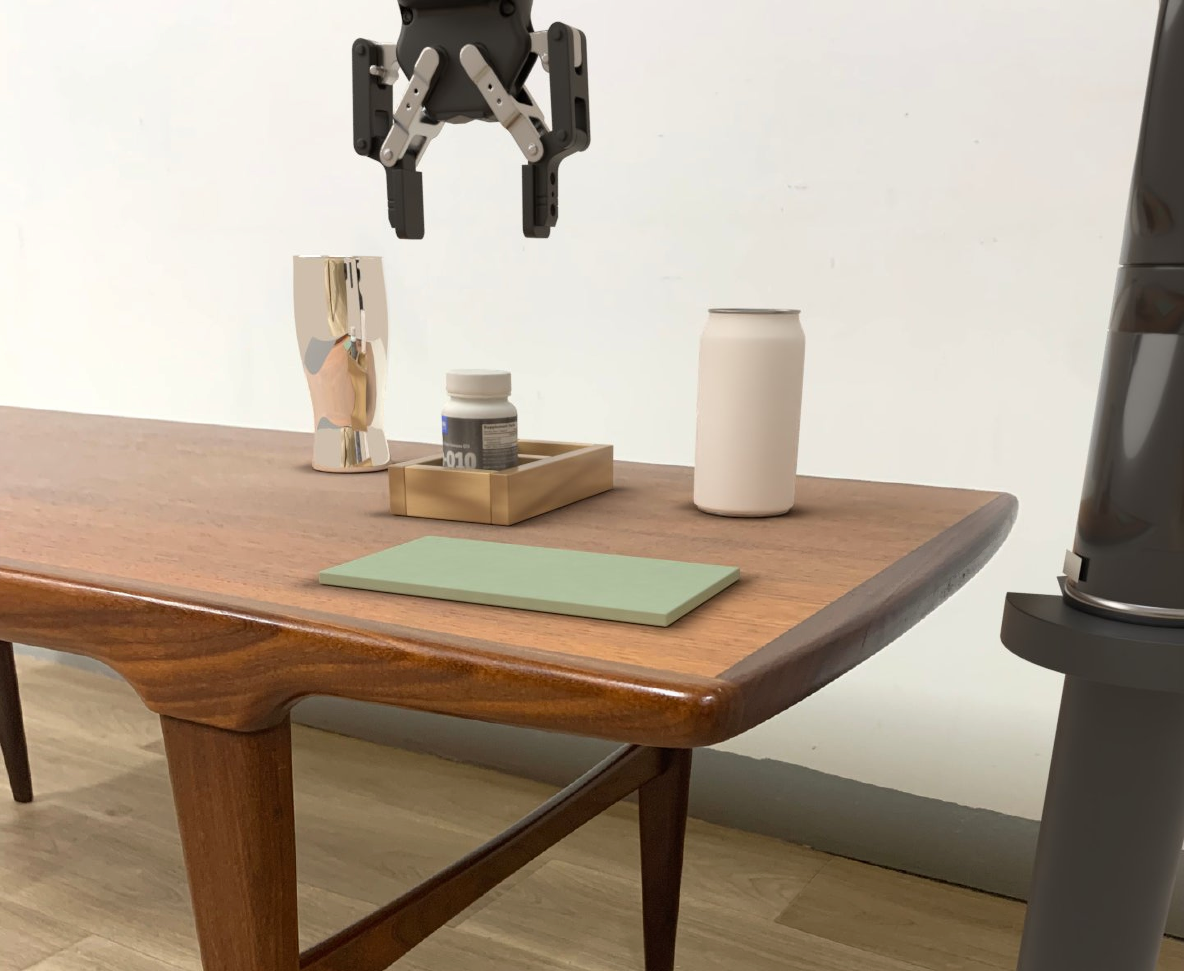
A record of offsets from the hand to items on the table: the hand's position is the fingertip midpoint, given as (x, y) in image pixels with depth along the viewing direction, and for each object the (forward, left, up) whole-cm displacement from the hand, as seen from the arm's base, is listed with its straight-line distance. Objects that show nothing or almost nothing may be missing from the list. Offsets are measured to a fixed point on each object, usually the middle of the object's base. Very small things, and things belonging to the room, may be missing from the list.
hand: (471, 238), depth 72 cm
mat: (-12, +16, -16) cm, 26 cm away
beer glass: (+18, -12, -16) cm, 27 cm away
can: (-15, -8, -16) cm, 23 cm away
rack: (0, -4, -16) cm, 16 cm away
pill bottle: (0, 0, -16) cm, 16 cm away
